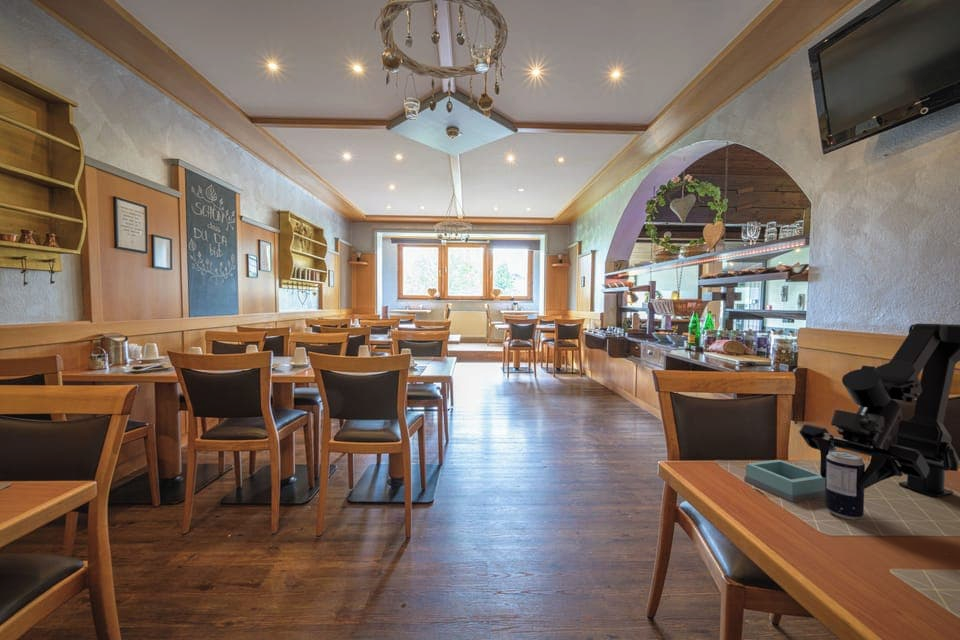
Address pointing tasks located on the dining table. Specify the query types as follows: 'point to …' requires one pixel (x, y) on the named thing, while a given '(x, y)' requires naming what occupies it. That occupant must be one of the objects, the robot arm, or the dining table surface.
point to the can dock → (786, 480)
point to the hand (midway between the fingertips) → (840, 482)
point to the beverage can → (844, 484)
